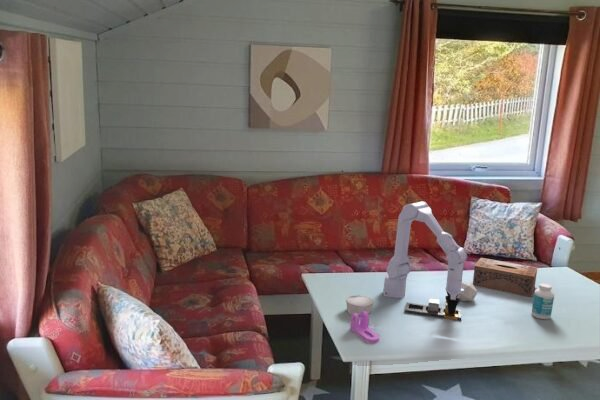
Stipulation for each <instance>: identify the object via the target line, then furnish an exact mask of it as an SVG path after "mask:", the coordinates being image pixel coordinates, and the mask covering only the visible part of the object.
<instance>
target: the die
mask: <svg viewBox="0 0 600 400" xmlns="http://www.w3.org/2000/svg"><path fill="white" fill-rule="evenodd" d="M461 289H464V292H460V293H459V294H458V296H457V298H460V302H474V300H475V299H476V296H477V295H478V290H477V289H476V286H474V285H473V281H469V282H468V281H466V282H465V281H462V284H461Z"/></svg>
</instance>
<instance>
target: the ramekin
mask: <svg viewBox="0 0 600 400" xmlns="http://www.w3.org/2000/svg"><path fill="white" fill-rule="evenodd" d="M345 303H346V310H347V312H348V313H349V314H350V315H352V314H353V313H357V314H358V315H359V317H360V314H361V312H365V311H366V312H367V313H368V315H369V314H370V313H372V309H373V305H374V300H373V299H372V298H371V297H369V296H367V295H363V294H362V295H360V294H354V295H348V296H347V297H346V298H345Z"/></svg>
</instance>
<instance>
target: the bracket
mask: <svg viewBox="0 0 600 400" xmlns="http://www.w3.org/2000/svg"><path fill="white" fill-rule="evenodd" d="M350 315H351V314H350ZM369 321H370V315H369V314H368V313H367V312H366V311H365V312H361V314H360V316H359V315H358V314H357V313H353V314H352V315H351V316H350V325H349V326H350V327H349V329H350V330H351V331H352V330H353V331H352V332H353V333H355V334H356V335H357V334H358V335H357V336H358V337H359V338H361V339H362V340H363V341H365V342H366V343H369V344H376V343H378V342H379V341H380V335H379V334H378V333H376V332H375V331H374V330H372V329H371V328H370V327H369ZM369 335H370V336H371V337H370V336H369Z"/></svg>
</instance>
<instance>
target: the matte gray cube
mask: <svg viewBox="0 0 600 400" xmlns="http://www.w3.org/2000/svg"><path fill="white" fill-rule="evenodd" d="M439 307H440V299H435V298H428V312H433V313H438V309H439Z"/></svg>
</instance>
